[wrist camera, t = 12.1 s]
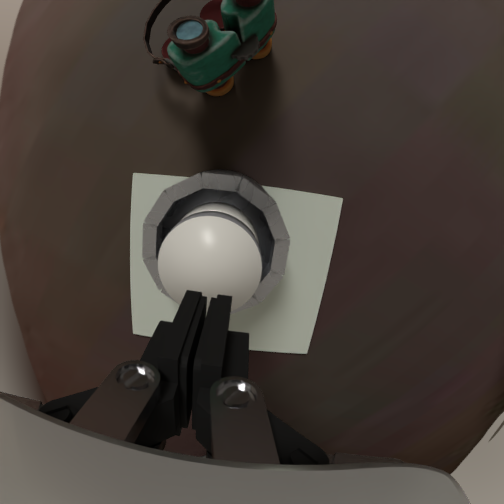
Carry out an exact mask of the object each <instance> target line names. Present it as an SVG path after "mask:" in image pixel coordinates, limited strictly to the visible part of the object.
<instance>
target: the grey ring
mask: <svg viewBox="0 0 504 504" xmlns="http://www.w3.org/2000/svg"><path fill="white" fill-rule="evenodd" d="M209 202H223V203H228V204H231V205H233V206H235V207H237V208H239V209H240V210H242V211H243V212H244V213H245V214H246V215H247V216H248V217H249V218H250V219H251V221H252V222H253V224H254V226H255V228H256V231H257V235H258V241H259V246H260V251H261V256H262V266H263V268H262V276H261V280H260V283H259V285H258V287H257V289H256V291H255V293H254V294H253V295H252V297H251V298H250V299H249V300H248V301H247V302H246V303H245V304H243V305H242V306H241V307H239V308H237V309H235V310H233V311H231V313H230V314H233V313H236V312H239V311H242V310H244V309H247V308H250V307H252V306H255V305H258V304H259V302H260V303H261V302H262V301H263V300H264V299H265V297H266V296H267V295H268V294H269V293H270V292H271V291H272V289H273V288H274V287H275V286H276V285H277V284H278V283H279V281H280V280H281V279H282V278H283V275H284V273H285V268H286V262H287V257H288V251H289V246H290V239H289V238H290V236H289V234H288V231H287V229H286V226H285V224H284V221H283V218H282V216H281V213H280V211H279V208H278V206H277V203H276V202H275V200H274V199H273V198H272V197H271V196H270V195H269V194H268V192H267V191H266V190H265V189H264V188H263V187H262V186H261V185H260V184H259V183H258V182H257V181H255V180H254V179H252V178H250V177H249V176H247V175H245V174H242V173H239V172H236V171H232V170H224V169H216V170H209V171H204V172H200V173H198V174H196V175H194V176H192V177H189V178H187V179H185V180H183V181H181V182H179V183H177V184H174V185H172V186H170V187H168V188H166V189H165V190H164V191H163V192H162V193H161V195H160V196H159V198H158V199H157V201H156V203H155V204H154V206H153V207H152V209H151V210H150V212H149V213H148V215H147V217H146V218H145V220H144V221H145V222H144V223H143V241H142V258H144V259H143V261H144V263H145V265H146V267H147V269H148V271H149V273H150V275H151V276H152V278H153V280H154V282H155V284H156V286H157V287H158V289H159V290H161V289H162V290H161V293H163V294H164V295H166V296H167V297H169V298H170V299H172V300H173V301H175V300H174V299H173V298H172V297H171V296H170V295H169V294H168V293H167V291H166V289H165V288H164V286H163V284H162V282H161V279H160V276H159V271H158V255H159V250H160V247H161V245H162V242H163V240H164V239H165V237H166V236H167V234H168V233H169V232H170V231H171V229H172V228H173V227H174V226H175V225H176V224H177V223H178V222H180V221H181V220H182V219H183V217H184V216H185V215H186V214H187V213H188V212H189V211H191V210H192V209H193V208H195V207H197V206H199V205H201V204H204V203H209ZM175 302H176V301H175ZM176 303H177V302H176ZM179 305H180V304H179Z"/></svg>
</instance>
